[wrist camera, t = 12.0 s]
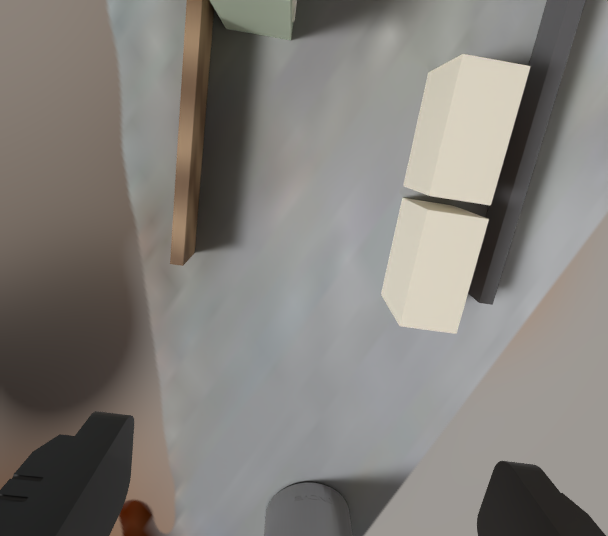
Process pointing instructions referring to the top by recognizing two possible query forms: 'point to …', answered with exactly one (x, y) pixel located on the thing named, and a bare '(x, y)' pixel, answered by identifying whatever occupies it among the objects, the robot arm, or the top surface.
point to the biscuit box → (465, 128)
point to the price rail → (525, 142)
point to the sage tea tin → (258, 16)
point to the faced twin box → (432, 264)
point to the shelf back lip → (191, 127)
